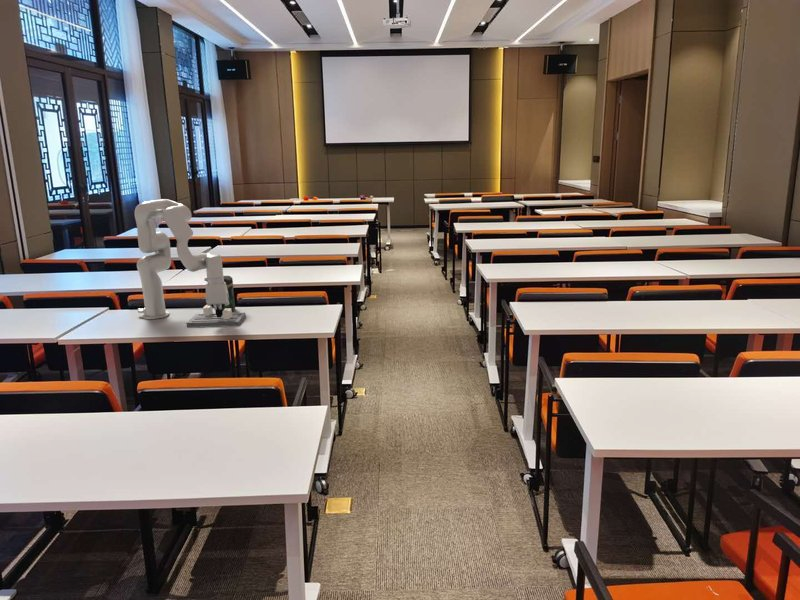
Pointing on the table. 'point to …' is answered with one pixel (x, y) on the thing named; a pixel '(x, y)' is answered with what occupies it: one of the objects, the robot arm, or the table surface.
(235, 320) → the console
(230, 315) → the fader cap
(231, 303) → the coffee jar
